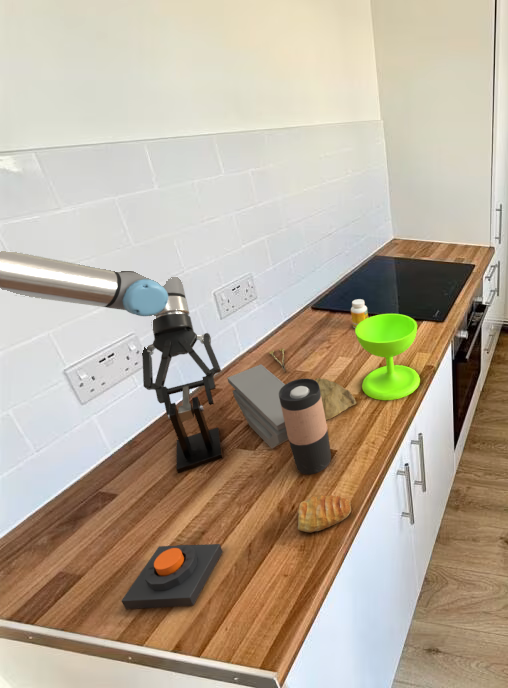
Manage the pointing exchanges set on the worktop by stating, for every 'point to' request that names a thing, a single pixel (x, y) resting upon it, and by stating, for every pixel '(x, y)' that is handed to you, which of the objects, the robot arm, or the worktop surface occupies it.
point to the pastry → (322, 512)
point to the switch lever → (185, 399)
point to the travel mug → (306, 425)
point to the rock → (334, 398)
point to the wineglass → (388, 355)
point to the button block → (174, 579)
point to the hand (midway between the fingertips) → (191, 409)
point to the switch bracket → (195, 440)
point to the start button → (169, 562)
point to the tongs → (278, 360)
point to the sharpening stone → (261, 403)
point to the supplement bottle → (358, 312)
